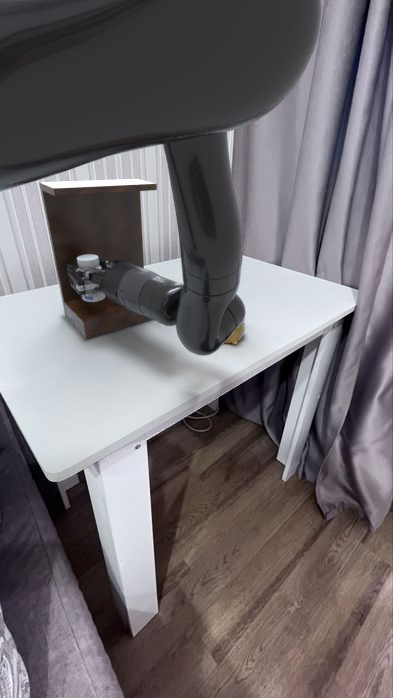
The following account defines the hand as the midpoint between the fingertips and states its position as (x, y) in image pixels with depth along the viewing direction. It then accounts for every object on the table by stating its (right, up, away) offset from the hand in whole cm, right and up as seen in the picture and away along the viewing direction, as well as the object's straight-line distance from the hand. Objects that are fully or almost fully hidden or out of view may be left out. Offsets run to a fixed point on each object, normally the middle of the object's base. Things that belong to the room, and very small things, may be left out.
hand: (81, 266), depth 66 cm
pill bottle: (+2, -6, +2) cm, 7 cm away
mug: (+30, -13, +6) cm, 34 cm away
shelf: (+5, -9, +10) cm, 14 cm away
